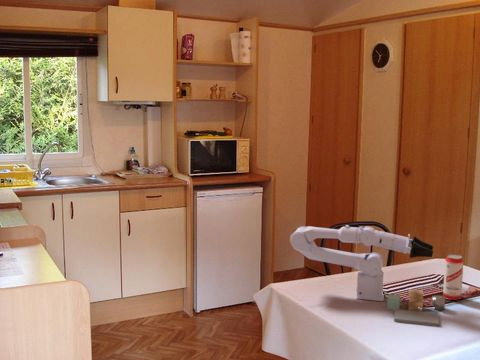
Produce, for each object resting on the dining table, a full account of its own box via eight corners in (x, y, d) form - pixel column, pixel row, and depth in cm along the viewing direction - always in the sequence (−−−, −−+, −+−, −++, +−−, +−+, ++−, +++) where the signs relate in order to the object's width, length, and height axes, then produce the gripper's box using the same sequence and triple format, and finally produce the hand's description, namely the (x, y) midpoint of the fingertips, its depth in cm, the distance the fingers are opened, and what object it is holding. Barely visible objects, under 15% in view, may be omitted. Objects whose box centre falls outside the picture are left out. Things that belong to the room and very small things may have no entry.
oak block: (408, 310, 190) (409, 294, 189) (408, 305, 195) (409, 289, 194) (422, 311, 189) (423, 295, 188) (421, 306, 193) (422, 290, 192)
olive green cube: (387, 309, 192) (387, 298, 191) (387, 304, 196) (387, 294, 195) (399, 310, 191) (399, 299, 190) (399, 305, 194) (399, 295, 194)
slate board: (394, 321, 182) (394, 318, 181) (394, 311, 189) (394, 309, 189) (438, 326, 178) (439, 323, 178) (437, 316, 185) (437, 313, 185)
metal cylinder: (431, 310, 190) (432, 299, 190) (430, 305, 194) (431, 294, 194) (444, 311, 189) (445, 300, 188) (444, 306, 193) (444, 296, 193)
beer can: (462, 302, 197) (465, 259, 194) (444, 300, 198) (446, 258, 195) (459, 295, 203) (462, 254, 200) (441, 294, 204) (444, 253, 201)
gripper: (394, 235, 189) (435, 245, 185) (396, 227, 203) (435, 236, 199) (390, 254, 190) (430, 264, 186) (392, 245, 204) (430, 255, 200)
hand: (432, 251), depth 193 cm, fingers open, 7 cm apart
